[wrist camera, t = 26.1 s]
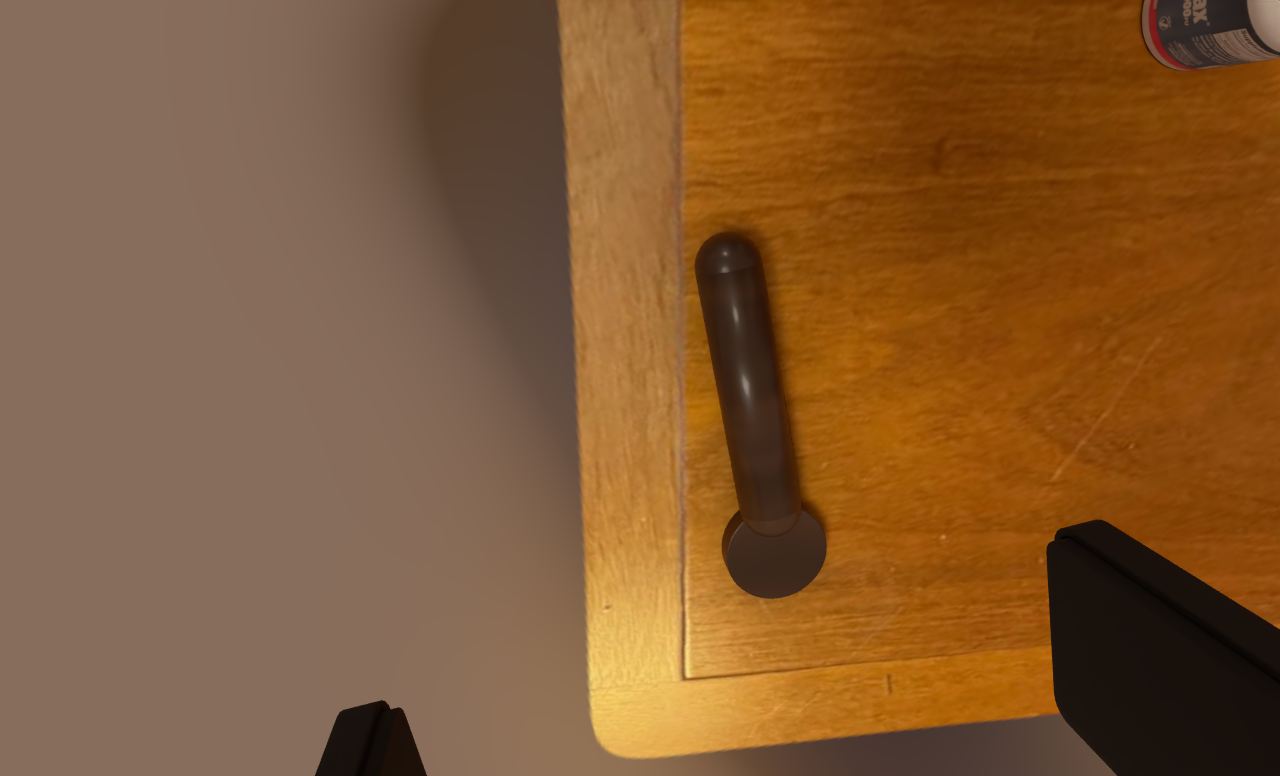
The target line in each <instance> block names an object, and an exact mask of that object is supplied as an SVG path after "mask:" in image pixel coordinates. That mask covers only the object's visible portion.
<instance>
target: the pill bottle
mask: <svg viewBox="0 0 1280 776" xmlns="http://www.w3.org/2000/svg"><path fill="white" fill-rule="evenodd" d="M1142 30H1143V35H1144V39H1145V42H1146V44H1147V46H1148V48H1149V50H1150V51H1151V53H1152V54H1153V55H1154V56H1155V58H1156V59H1157V60H1159V61H1160V62H1161V63H1163V64H1164V65H1166V66H1168V67H1170V68H1173V69H1177V70H1184V71H1191V70H1201V69H1208V68H1215V67H1223V66H1230V65H1236V64H1243V63H1250V62H1257V61H1265V60H1271V59H1278V58H1280V0H1145V1H1144V5H1143V10H1142Z"/></svg>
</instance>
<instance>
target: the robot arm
mask: <svg viewBox="0 0 1280 776" xmlns="http://www.w3.org/2000/svg"><path fill="white" fill-rule="evenodd" d="M1046 554H1047V572H1048V590H1049V609H1050V627H1051V645H1052V663H1053V682H1054V696H1055V701H1056V704H1057V707H1058V709H1059V711H1060V713H1061V715H1062V716H1063V718H1064V719H1065V721H1066V722H1067V723H1068V724H1069V725H1070V726H1071V727H1072V728H1073V730H1074V731H1075V732H1076V733H1077V734H1078V735H1079V736H1080V737H1081V738H1082V739H1083V740H1084V741H1085V742H1086V743H1087V744H1088V745H1089V746H1090V747H1091V748H1092V750H1094V751H1095V753H1096V754H1097V755H1098V756H1099V757H1100V758H1101V759H1102V760H1103V761H1104V762H1105V763H1106V764H1107V765H1108V766H1109V767H1110V768H1111V769H1112V771H1113V772H1114V773H1115V774H1116V775H1117V776H1280V629H1278V628H1277V627H1275V626H1273V625H1272V624H1270V623H1269V622H1267V621H1265V620H1264V619H1262V618H1261V617H1259V616H1257V615H1256V614H1254V613H1252V612H1251V611H1249V610H1248V609H1246V608H1244V607H1243V606H1241V605H1240V604H1238V603H1236V602H1235V601H1233V600H1232V599H1230V598H1228V597H1227V596H1225V595H1224V594H1222V593H1220V592H1219V591H1217V590H1215V589H1214V588H1212V587H1211V586H1209V585H1207V584H1206V583H1204V582H1203V581H1201V580H1199V579H1198V578H1196V577H1195V576H1193V575H1191V574H1190V573H1188V572H1187V571H1185V570H1183V569H1182V568H1180V567H1178V566H1177V565H1175V564H1174V563H1172V562H1170V561H1169V560H1167V559H1166V558H1164V557H1162V556H1161V555H1159V554H1158V553H1156V552H1154V551H1153V550H1151V549H1150V548H1148V547H1146V546H1145V545H1143V544H1141V543H1140V542H1138V541H1137V540H1135V539H1133V538H1132V537H1130V536H1129V535H1127V534H1125V533H1124V532H1122V531H1121V530H1119V529H1117V528H1116V527H1114V526H1113V525H1111V524H1109V523H1108V522H1105V521H1103V520H1092V521H1088V522H1085V523H1081V524H1077V525H1073V526H1069V527H1065V528H1061V529H1060V530H1058V531H1057V533H1056V535H1055V540H1054V541H1052V542H1050V543H1049V544H1048V546H1047V552H1046ZM315 776H427V775H426V772H425V769H424V766H423V764H422V761H421V758H420V755H419V752H418V749H417V747H416V744H415V741H414V738H413V735H412V732H411V730H410V727H409V724H408V721H407V718H406V716H405V713H404V711H403V710H402V709H401V708H399V707H398V708H394V709H390V707H389V705H388V704H387V703H386V702H385V701H383V700H381V701H378V702H373V703H369V704H365V705H361V706H358V707H353V708H350V709H346V710H343V711H341V712H340V713H339V715H338V716H337V718H336V721H335V724H334V726H333V729H332V732H331V734H330V737H329V740H328V742H327V745H326V748H325V750H324V753H323V756H322V758H321V761H320V764H319V767H318V769H317V772H316V774H315Z"/></svg>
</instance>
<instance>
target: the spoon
mask: <svg viewBox="0 0 1280 776" xmlns="http://www.w3.org/2000/svg"><path fill="white" fill-rule="evenodd" d="M695 274H696V279H697V284H698V290H699V295H700V300H701V306H702V311H703V316H704V322H705V327H706V333H707V338H708V343H709V349H710V354H711V359H712V365H713V370H714V375H715V381H716V386H717V391H718V397H719V402H720V407H721V413H722V418H723V423H724V429H725V434H726V439H727V445H728V450H729V455H730V461H731V466H732V471H733V477H734V482H735V487H736V493H737V498H738V503H739V509H740V510H739V511H738V512H737V513H736V514H735V515H734V516H733V518H732V519H731V520H730V522H729V523H728V525H727V527H726V529H725V532H724V535H723V540H722V555H723V559H724V562H725V564H726V566H727V568H728V571H729V573H730V575H731V577H732V578H733V580H734V581H735V583H736V584H737V585H738V586H739V587H740V588H741V589H743V590H744V591H746V592H747V593H749V594H751V595H754V596H757V597H761V598H769V599H774V598H782V597H786V596H789V595H792V594H794V593H796V592H798V591H800V590H802V589H803V588H805V587H806V586H807V585H808V584H809V583H810V582H812V581H813V579H814V578H815V577H816V576H817V574H818V573H819V571H820V570H821V568H822V566H823V563H824V560H825V556H826V548H827V545H826V537H825V534H824V531H823V529H822V527H821V525H820V524H819V522H818V521H817V520H816V518H815V517H814V516H813V515H812V513H811V512H810V511H809V510H808V509H807V508H806V507H805V506H804V505H802V504H801V498H800V492H799V486H798V479H797V473H796V467H795V461H794V454H793V448H792V442H791V436H790V430H789V423H788V417H787V411H786V405H785V399H784V392H783V386H782V380H781V374H780V367H779V361H778V355H777V349H776V343H775V336H774V330H773V324H772V318H771V312H770V305H769V299H768V293H767V287H766V280H765V274H764V268H763V262H762V257H761V254H760V251H759V249H758V247H757V246H756V245H755V244H754V242H753V241H751V240H750V239H749V238H748V237H746V236H744V235H742V234H739V233H736V232H723V233H719V234H716V235H714V236H712V237H710V238H709V239H708V240H707V241H705V243H704V244H703V245H702V246H701V248H700V249H699V251H698V253H697V256H696V259H695Z"/></svg>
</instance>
